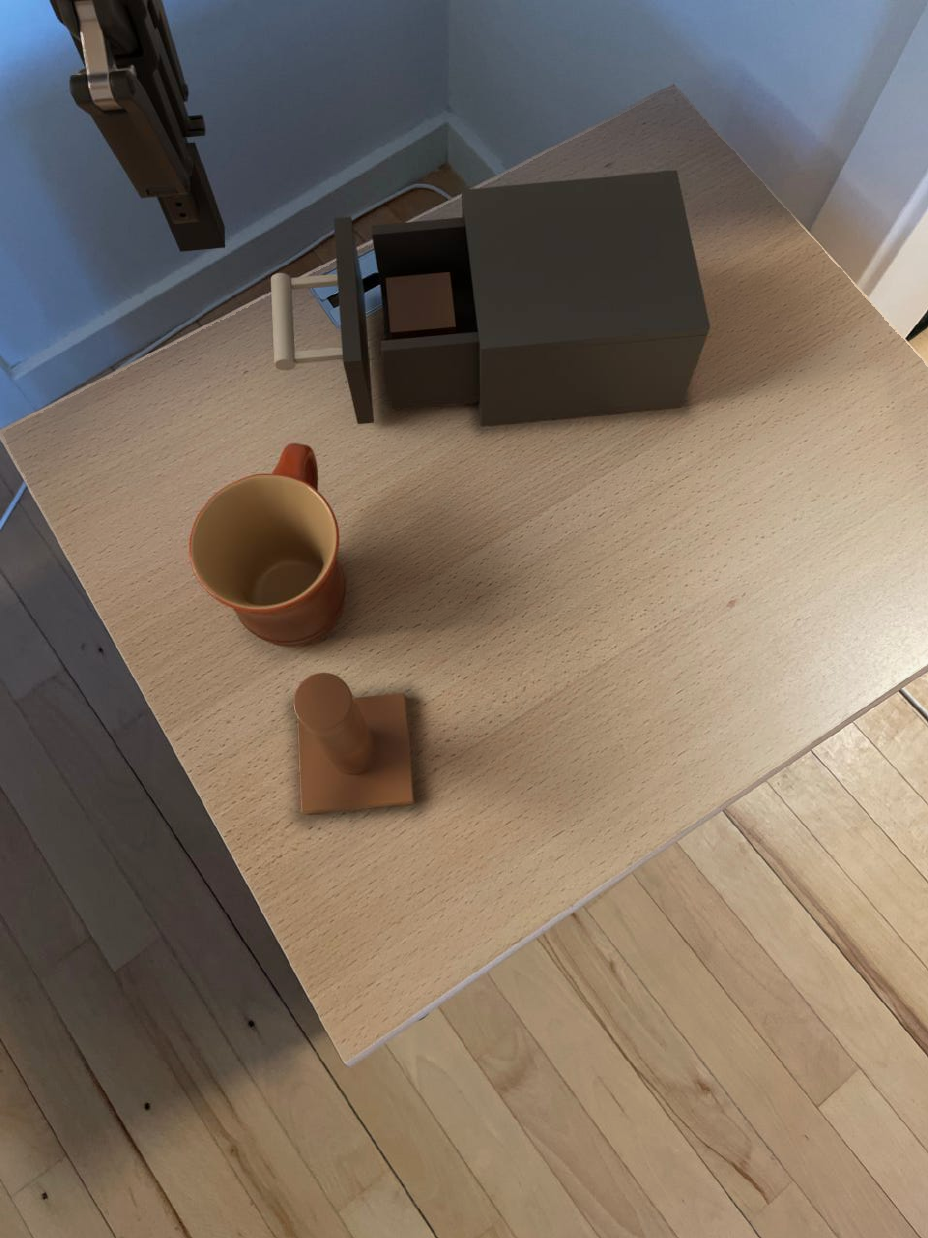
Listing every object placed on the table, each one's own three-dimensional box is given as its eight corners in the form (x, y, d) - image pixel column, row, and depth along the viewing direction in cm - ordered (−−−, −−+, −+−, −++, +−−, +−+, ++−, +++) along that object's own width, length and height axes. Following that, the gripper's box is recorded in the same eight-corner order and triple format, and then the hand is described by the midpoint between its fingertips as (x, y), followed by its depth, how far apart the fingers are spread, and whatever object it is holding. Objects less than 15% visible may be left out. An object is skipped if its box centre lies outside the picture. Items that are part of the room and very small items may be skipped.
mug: (342, 674, 65) (317, 624, 55) (215, 649, 66) (169, 595, 56) (383, 512, 69) (367, 439, 59) (263, 490, 70) (228, 414, 60)
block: (395, 370, 70) (389, 332, 66) (390, 317, 72) (385, 277, 68) (458, 364, 70) (456, 326, 66) (452, 311, 72) (450, 271, 68)
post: (303, 814, 62) (255, 775, 49) (299, 707, 64) (251, 642, 51) (414, 803, 62) (395, 761, 49) (405, 696, 65) (385, 629, 51)
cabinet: (481, 426, 71) (480, 348, 62) (464, 282, 75) (461, 189, 66) (681, 407, 71) (710, 327, 62) (653, 264, 75) (677, 169, 66)
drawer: (289, 431, 70) (266, 369, 63) (283, 297, 74) (261, 224, 66) (545, 406, 70) (552, 342, 63) (526, 275, 74) (531, 199, 67)
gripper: (130, -81, 35) (268, 324, 57) (135, -314, 39) (261, 147, 61) (-82, -62, 35) (139, 336, 57) (-54, -298, 39) (141, 158, 61)
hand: (202, 238), depth 59 cm, fingers closed
